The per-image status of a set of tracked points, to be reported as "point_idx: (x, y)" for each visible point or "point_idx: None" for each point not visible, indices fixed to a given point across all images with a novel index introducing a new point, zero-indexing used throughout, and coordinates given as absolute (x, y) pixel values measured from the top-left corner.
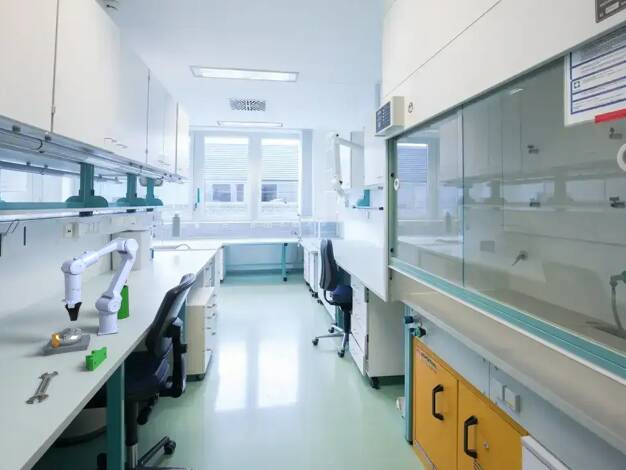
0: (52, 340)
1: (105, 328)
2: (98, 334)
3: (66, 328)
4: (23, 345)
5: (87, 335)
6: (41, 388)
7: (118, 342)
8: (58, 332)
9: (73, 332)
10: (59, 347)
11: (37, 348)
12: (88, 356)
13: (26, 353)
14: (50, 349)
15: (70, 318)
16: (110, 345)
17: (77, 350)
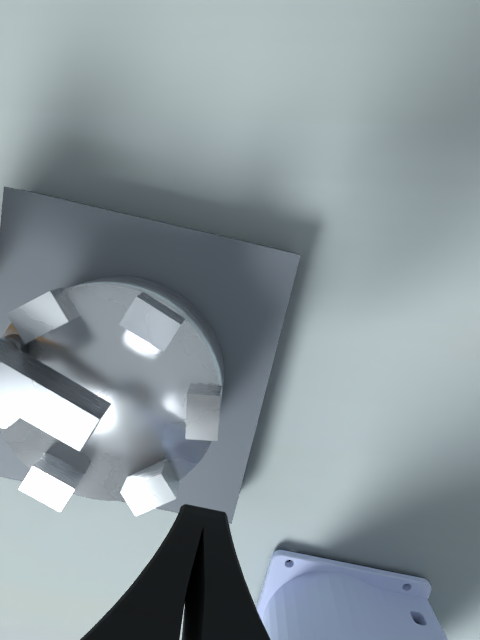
0: None
1: (273, 632)
2: (273, 555)
3: (89, 415)
4: (396, 52)
5: (210, 503)
6: None
7: (46, 618)
8: (128, 327)
9: (136, 443)
10: (19, 299)
11: (236, 155)
12: None
13: (158, 71)
14: (3, 235)
15: (171, 530)
16: (12, 573)
17: None
